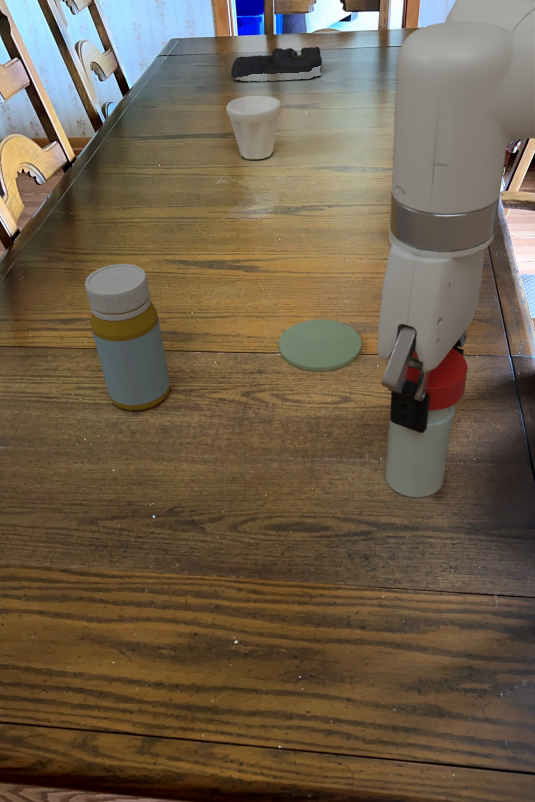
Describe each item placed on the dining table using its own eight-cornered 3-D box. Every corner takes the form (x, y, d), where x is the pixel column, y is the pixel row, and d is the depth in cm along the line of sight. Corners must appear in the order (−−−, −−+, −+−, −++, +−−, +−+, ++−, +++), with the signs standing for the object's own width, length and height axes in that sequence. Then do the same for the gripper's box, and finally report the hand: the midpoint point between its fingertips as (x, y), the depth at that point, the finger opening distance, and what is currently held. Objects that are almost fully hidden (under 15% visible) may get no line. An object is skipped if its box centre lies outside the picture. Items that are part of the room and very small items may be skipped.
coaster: (376, 337, 87) (376, 333, 87) (335, 381, 81) (335, 377, 81) (306, 315, 92) (306, 311, 92) (262, 355, 86) (262, 351, 86)
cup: (242, 169, 130) (238, 117, 124) (222, 151, 137) (217, 101, 131) (292, 157, 133) (290, 106, 127) (270, 141, 140) (267, 91, 134)
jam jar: (452, 469, 70) (468, 378, 63) (428, 506, 66) (442, 414, 59) (400, 448, 72) (409, 359, 65) (374, 483, 69) (381, 392, 62)
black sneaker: (235, 65, 182) (233, 45, 179) (321, 61, 180) (321, 40, 177) (229, 83, 170) (227, 62, 167) (322, 79, 168) (322, 57, 165)
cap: (476, 378, 63) (479, 355, 61) (445, 420, 59) (448, 397, 57) (410, 356, 66) (412, 334, 64) (377, 395, 62) (377, 373, 60)
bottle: (173, 408, 79) (151, 291, 70) (109, 418, 79) (79, 301, 69) (169, 371, 85) (148, 257, 75) (110, 379, 84) (81, 266, 74)
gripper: (443, 163, 59) (427, 340, 71) (338, 257, 48) (340, 447, 60) (534, 179, 55) (502, 363, 67) (442, 284, 45) (423, 480, 57)
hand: (425, 401), depth 63 cm, fingers closed on cap, 6 cm apart
